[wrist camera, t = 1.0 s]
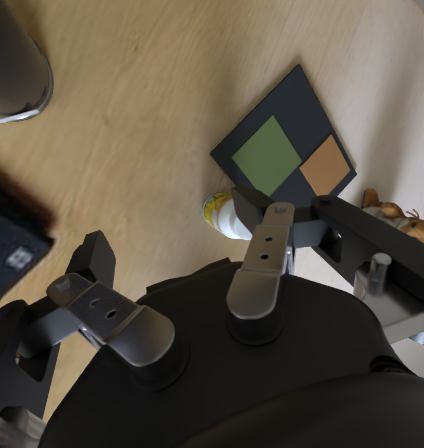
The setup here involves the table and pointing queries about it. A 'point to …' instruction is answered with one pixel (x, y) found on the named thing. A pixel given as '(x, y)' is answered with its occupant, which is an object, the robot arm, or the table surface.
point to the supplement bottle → (224, 216)
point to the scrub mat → (287, 147)
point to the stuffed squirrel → (393, 215)
